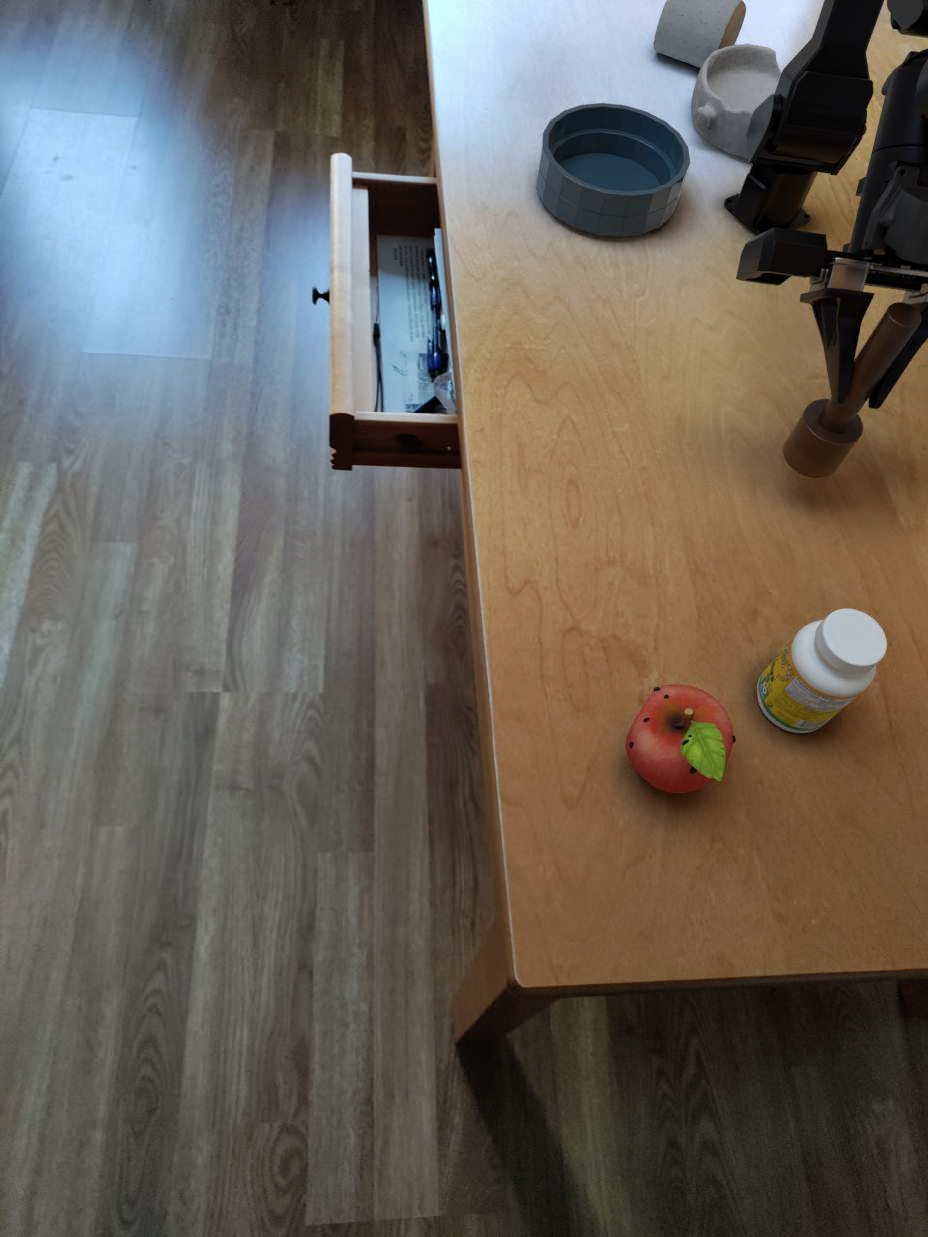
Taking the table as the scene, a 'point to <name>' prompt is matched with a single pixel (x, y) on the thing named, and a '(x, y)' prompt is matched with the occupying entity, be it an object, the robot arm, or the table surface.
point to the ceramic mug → (698, 28)
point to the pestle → (848, 399)
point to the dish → (733, 93)
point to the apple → (680, 739)
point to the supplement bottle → (821, 670)
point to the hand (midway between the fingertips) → (855, 406)
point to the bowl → (611, 169)
